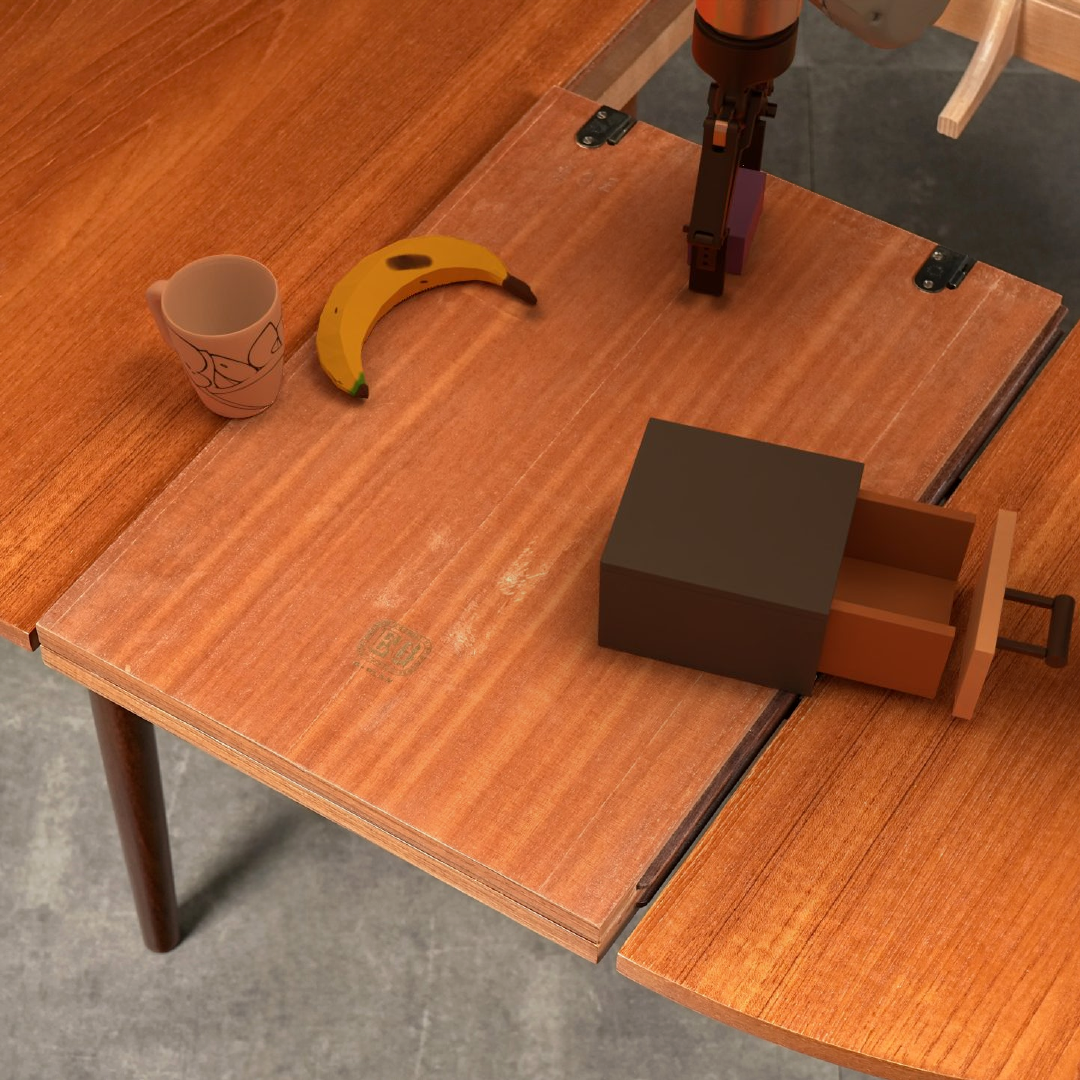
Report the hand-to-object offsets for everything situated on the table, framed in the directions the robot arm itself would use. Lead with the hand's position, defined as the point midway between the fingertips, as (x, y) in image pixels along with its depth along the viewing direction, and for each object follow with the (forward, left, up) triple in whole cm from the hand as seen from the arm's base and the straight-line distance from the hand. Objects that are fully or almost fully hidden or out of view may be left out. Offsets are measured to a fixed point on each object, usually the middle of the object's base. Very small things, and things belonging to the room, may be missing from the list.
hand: (724, 234), depth 138 cm
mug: (+33, +26, 0) cm, 42 cm away
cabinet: (-8, +35, 0) cm, 36 cm away
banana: (+20, +17, 0) cm, 26 cm away
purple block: (0, 0, 0) cm, 0 cm away
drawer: (-21, +35, +1) cm, 41 cm away
